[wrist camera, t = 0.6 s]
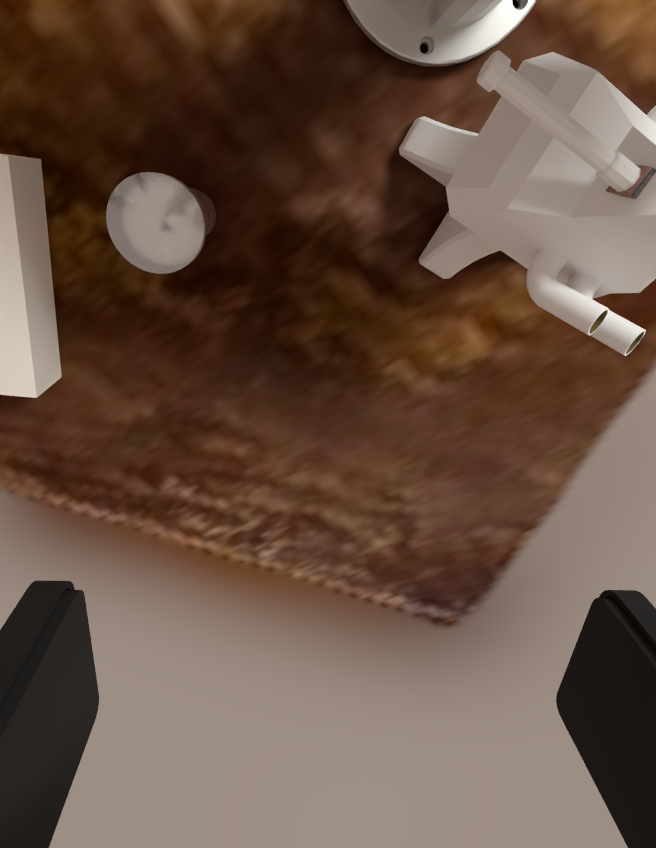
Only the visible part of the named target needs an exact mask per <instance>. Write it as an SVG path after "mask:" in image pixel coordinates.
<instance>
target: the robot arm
mask: <svg viewBox="0 0 656 848" xmlns="http://www.w3.org/2000/svg"><path fill="white" fill-rule="evenodd" d="M516 1H517V3H518V7H517V9H515V8H514V6H513V0H343V2H344V3H345V5H346V7H347V9H348V10H349V12H350V14H351V16H352V17H353V19H354V21H355V22H356V23H357V25H358V26H359V27H360V28H361V29H362V31H363V32H364V33H365V34H366V35H367V37H368V38H369V39H370V40H371V41H373V42H374V43H375V44H376V45H378V46H379V47H380V48H381V49H383V50H384V51H385V52H386V53H388V54H390V55H392V56H394V57H396V58H398V59H400V60H402V61H404V62H408V63H412V64H416V65H421V66H425V67H434V66H449V65H453V64H458V63H462V62H466V61H468V60H470V59H472V58H474V57H476V56H478V55H480V54H482V53H484V52H486V51H487V50H489V49H490V48H492V47H493V46H495V45H496V44H498V43H499V42H500V41H502V40H503V39H504V38H505V37H506V36H507V35H508V34H509V33H510V32H512V31H513V30H514V29H515V28H516V27H517V26H518V25H519V24H520V22H521V21H522V20H523V19H524V18H525V16H526V15H527V14H528V13H529V12H530V10H531V9H532V7H533V6H534V4H535V2H536V1H537V0H516ZM421 44H424V45H426V47H427V52H426V53H425V54H423V53H421V51H420V45H421ZM556 702H557V708H558V711H559V714H560V716H561V718H562V720H563V722H564V724H565V726H566V728H567V730H568V732H569V734H570V736H571V738H572V739H573V742H574V744H575V745H576V747H577V749H578V751H579V753H580V755H581V757H582V759H583V761H584V763H585V765H586V767H587V769H588V771H589V773H590V775H591V777H592V778H593V780H594V782H595V784H596V786H597V788H598V790H599V792H600V794H601V796H602V798H603V800H604V802H605V804H606V805H607V808H608V809H609V811H610V813H611V815H612V817H613V819H614V821H615V823H616V825H617V827H618V829H619V831H620V833H621V835H622V837H623V839H624V841H625V843H626V844H627V846H628V848H656V609H655V608H654V606H653V605H652V604H651V603H650V602H649V601H648V599H647V598H646V597H645V596H644V595H643V594H641V593H640V592H638V591H628V590H627V591H626V590H606V591H604V592H602V593H601V595H600V597H599V598H596V599H594V601H593V602H592V604H591V607H590V609H589V612H588V615H587V617H586V620H585V622H584V625H583V628H582V630H581V633H580V635H579V638H578V641H577V643H576V646H575V648H574V651H573V654H572V656H571V659H570V661H569V664H568V667H567V669H566V672H565V674H564V677H563V680H562V682H561V685H560V688H559V690H558V693H557V700H556ZM98 704H99V693H98V686H97V680H96V672H95V665H94V659H93V652H92V646H91V638H90V631H89V624H88V617H87V611H86V603H85V597H84V592H83V591H82V590H75V589H74V586H73V584H72V582H70V581H35V582H33V583H32V584H31V585H30V586H29V587H28V589H27V590H26V592H25V593H24V595H23V596H22V598H21V599H20V601H19V602H18V604H17V606H16V608H15V609H14V610H13V612H12V613H11V615H10V616H9V618H8V619H7V621H6V622H5V624H4V625H3V627H2V628H1V630H0V848H49V845H50V842H51V840H52V836H53V834H54V831H55V829H56V826H57V823H58V820H59V818H60V815H61V812H62V809H63V807H64V804H65V801H66V798H67V796H68V793H69V790H70V787H71V784H72V782H73V779H74V776H75V774H76V771H77V768H78V765H79V763H80V760H81V757H82V754H83V752H84V749H85V746H86V744H87V741H88V738H89V735H90V732H91V730H92V727H93V724H94V722H95V719H96V715H97V711H98Z"/></svg>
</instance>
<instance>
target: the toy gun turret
mask: <svg viewBox="0 0 656 848" xmlns="http://www.w3.org/2000/svg"><path fill="white" fill-rule="evenodd" d="M510 63H511V60H510V59H509V58H508V57H506V56H505V55H504V54H503V53H502V52H500V51H499V50H497V51H495V52H494V53H493V54H492V55H491V56H490V57H489V58H488V59H487V61H486V62H485V64H484V65H483V67H482V69H481V70H480V72H479V75H478V77H477V83H478V84H479V85H481V86H482V87H483V88H485V89H486V90H487V91H488V92H490V91H492V90H493V89H494V90H496V91H497V92H498V93H499V94H501V95H502V96H501V98H500V100H499V101H498V103H497V105H496V106H495V108H494V110H493V111H492V113H491V115H490V116H489V118H488V119H487V121H486V123H485V124H484V126H483V128H482V129H481V131H480V133H479V134H478V133H473V132H469V131H465V130H461V129H457V128H454V127H451V126H448V125H445V124H442V123H439V122H437V121H434V120H432V119H429V118H427V117H425V116H424V117H420V118H417V119H415V121H414V122H413V124H412V126H411V128H410V129H409V131H408V133H407V135H406V137H405V138H404V140H403V142H402V144H401V145H400V147H399V154H400V155H401V156H402V157H404V158H405V159H407V160H408V161H410V162H411V163H412V164H414V165H415V166H417V167H418V168H420V169H421V170H422V171H424V172H425V173H427V174H428V175H430V176H431V177H433V178H434V179H435V180H437V181H438V182H440V183H441V184H443V185H444V186H445V187H446V192H447V199H448V206H449V211H448V213H447V214H446V216H445V217H444V219H443V221H442V222H441V224H440V225H439V227H438V229H437V230H436V232H435V234H434V235H433V237H432V238H431V240H430V242H429V243H428V245H427V246H426V248H425V250H424V251H423V253H422V254H421V256H420V258H419V263H420V264H421V265H422V266H424V267H425V268H427V269H429V270H430V271H432V272H433V273H435V274H436V275H438V276H440V277H441V278H443V279H448V278H451V277H452V276H453V275H455V274H456V273H457V272H459V271H460V270H461V269H463V268H465V267H466V266H468V265H469V264H471V263H472V262H474V261H476V260H478V259H480V258H482V257H485V256H487V255H489V254H492V253H495V252H497V251H500V250H501V251H502V252H504V253H505V254H507V255H508V256H510V257H511V258H512V259H514V260H515V261H517V262H518V263H520V264H521V265H523V266H524V267H526V268H527V269H528V272H527V278H526V282H527V289H528V292H529V294H530V296H531V299H532V300H533V301H534V302H535V303H536V304H537V305H538V306H540V307H541V308H543V309H545V310H546V311H548V312H550V313H551V314H553V315H555V316H557V317H558V318H560V319H562V320H563V321H565V322H567V323H568V324H570V325H572V326H574V327H575V328H577V329H579V330H580V331H582V332H584V333H586V334H587V335H591V336H592V337H594V338H596V339H597V340H599V341H601V342H602V343H604V344H606V345H608V346H609V347H611V348H613V349H614V350H616V351H618V352H620V353H621V354H623V355H625V356H626V355H627V354H629V353H630V352H631V351H632V350H633V349H634V348H635V347H636V345H637V344H638V343H639V342H640V340H641V339H642V337H643V336H644V334H645V331H646V330H644V329H643V328H641V327H639V326H637V325H635V324H633V323H632V322H630V321H628V320H626V319H624V318H622V317H621V316H619V315H617V314H615V313H613V312H612V311H610V310H609V309H608V308H607V307H605V306H603V305H601V304H599V303H597V302H596V301H594V300H592V299H593V298H597V297H600V296H604V295H606V294H609V293H640V292H641V291H642V290H643V289H644V288H645V287H646V286H648V285H649V284H650V283H651V282H652V281H653V280H655V279H656V106H655V107H654V108H653V109H652V110H651V111H650V112H649V113H648V114H647V115H645V114H644V113H643V112H642V111H641V110H640V109H639V108H638V107H636V106H635V105H634V104H633V103H632V102H631V101H630V100H629V99H628V98H627V97H625V96H624V95H623V94H622V93H621V92H620V91H619V90H618V89H617V88H616V87H614V86H613V85H612V84H611V83H610V82H609V81H608V80H607V79H606V78H605V77H603V76H602V75H601V74H600V73H599V72H598V71H596V70H594V69H592V68H590V67H588V66H586V65H583V64H581V63H578V62H576V61H574V60H571V59H569V58H566V57H564V56H561V55H559V54H556V53H554V52H551V53H548V54H544V55H541V56H537V57H534V58H531V59H527V60H524V61H523V62H522V64H521V65H520V67H519V69H518V70H517V72H516V71H515V70H513V69H512V68H511V67H510Z"/></svg>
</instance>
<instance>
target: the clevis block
mask: <svg viewBox="0 0 656 848" xmlns="http://www.w3.org/2000/svg"><path fill="white" fill-rule="evenodd" d="M61 377H62V375H61V365H60V354H59V344H58V333H57V323H56V312H55V302H54V291H53V281H52V270H51V260H50V249H49V238H48V228H47V217H46V207H45V196H44V186H43V175H42V165H41V159H37V158H30V157H22V156H15V155H8V154H0V395H9V396H20V397H32V398H37V397H38V396H40V395H41V394H42V393H43V392H44V391H46V390H47V389H48V388H49V387H50V386H52V385H53V384H54V383H55V382H56V381H57V380H59V379H60V378H61Z"/></svg>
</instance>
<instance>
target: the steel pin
mask: <svg viewBox="0 0 656 848" xmlns="http://www.w3.org/2000/svg"><path fill="white" fill-rule="evenodd" d="M106 221H107V227H108V232H109V234H110V237H111V239H112V241H113V243H114V245H115V247H116V248H117V250H118V251H119V252H120V254H121V255H122V256H123V257H124V258H125V259H126V260H127V261H129V262H130V263H131V264H133V265H134V266H136V267H138V268H140V269H142V270H144V271H147V272H151V273H158V274H165V273H171V272H175V271H178V270H180V269H182V268H184V267H185V266H187V265H188V264H189V263H191V262H192V261H193V260H194V259H195V258H196V257H197V256H198V254H199V253H200V252H201V250H202V248H203V245H204V243H205V239H206V235H207V234H209V233H210V232H211V230H212V229H213V227H214V225H215V222H216V210H215V207H214V204H213V202H212V201H211V199H210V198H209V197H208V196H207V195H206V194H205V193H203V192H202V191H200V190H197V189H193V188H189V187H188V186H187V185H186V184H184V183H183V182H182V181H180V180H179V179H177V178H175V177H173V176H170V175H167V174H162V173H154V172H143V173H138V174H134V175H132V176H129V177H128V178H126V179H124V180H123V181H122V182H121V183H119V185H118V186H117V187H116V188H115V189H114V191H113V192H112V194H111V196H110V199H109V202H108V205H107V211H106Z"/></svg>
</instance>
